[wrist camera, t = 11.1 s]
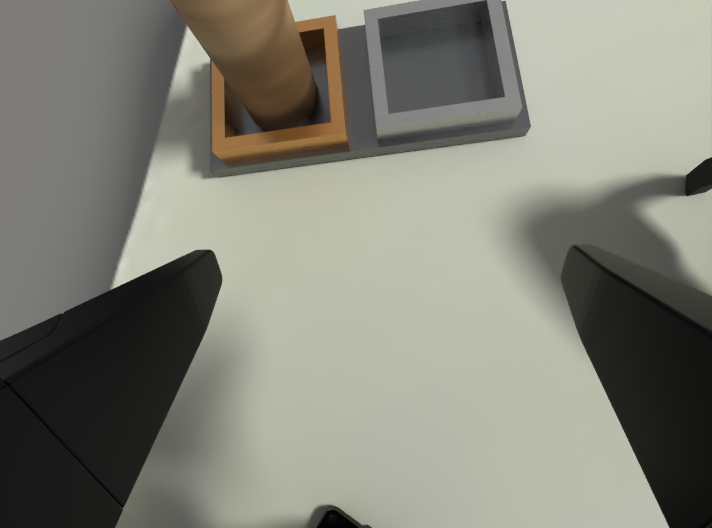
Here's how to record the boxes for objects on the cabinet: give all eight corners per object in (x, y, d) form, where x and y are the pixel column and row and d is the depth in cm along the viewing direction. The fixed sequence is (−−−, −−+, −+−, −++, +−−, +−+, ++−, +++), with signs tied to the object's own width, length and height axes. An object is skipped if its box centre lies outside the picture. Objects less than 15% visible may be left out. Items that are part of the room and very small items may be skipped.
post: (308, 136, 23) (194, -102, 10) (239, 125, 24) (55, -108, 11) (325, 70, 24) (239, -227, 11) (258, 62, 25) (106, -224, 12)
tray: (501, 14, 24) (512, -22, 22) (524, 135, 23) (540, 111, 20) (217, 61, 26) (198, 33, 24) (218, 177, 24) (198, 159, 22)
